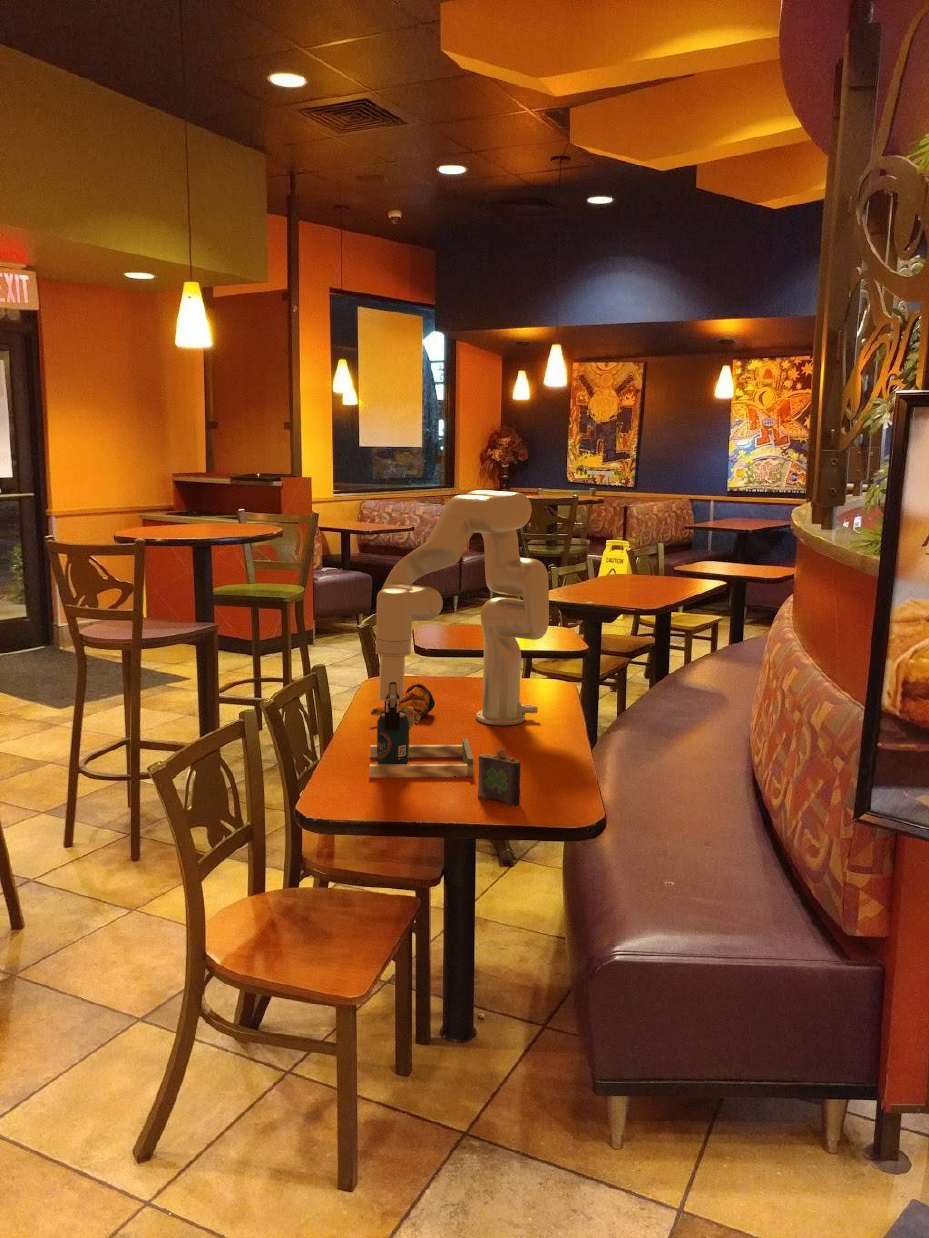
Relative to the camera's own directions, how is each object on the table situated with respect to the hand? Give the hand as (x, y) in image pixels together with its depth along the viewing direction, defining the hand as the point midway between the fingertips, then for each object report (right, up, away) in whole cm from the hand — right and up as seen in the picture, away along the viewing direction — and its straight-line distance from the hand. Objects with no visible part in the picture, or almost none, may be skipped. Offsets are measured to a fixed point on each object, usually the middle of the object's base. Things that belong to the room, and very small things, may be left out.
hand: (391, 723), depth 211 cm
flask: (+23, -14, -17) cm, 31 cm away
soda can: (0, -10, +2) cm, 10 cm away
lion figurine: (0, -6, +23) cm, 23 cm away
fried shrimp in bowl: (0, -3, +39) cm, 39 cm away
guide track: (+6, -10, +3) cm, 12 cm away
